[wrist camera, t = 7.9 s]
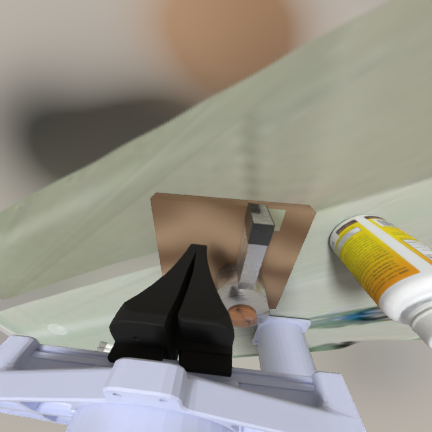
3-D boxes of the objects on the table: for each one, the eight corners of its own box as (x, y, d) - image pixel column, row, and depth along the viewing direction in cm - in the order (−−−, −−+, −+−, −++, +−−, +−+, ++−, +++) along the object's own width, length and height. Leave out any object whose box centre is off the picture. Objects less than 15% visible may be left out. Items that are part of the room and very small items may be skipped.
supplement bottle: (327, 256, 20) (403, 362, 11) (327, 219, 18) (426, 318, 9) (380, 247, 19) (511, 358, 10) (388, 206, 16) (574, 305, 8)
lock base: (272, 299, 25) (275, 309, 24) (169, 289, 25) (165, 298, 24) (309, 205, 17) (316, 212, 16) (156, 192, 17) (149, 198, 16)
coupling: (256, 295, 22) (263, 336, 18) (215, 290, 22) (212, 330, 18) (287, 207, 15) (309, 239, 11) (227, 200, 15) (226, 230, 11)
